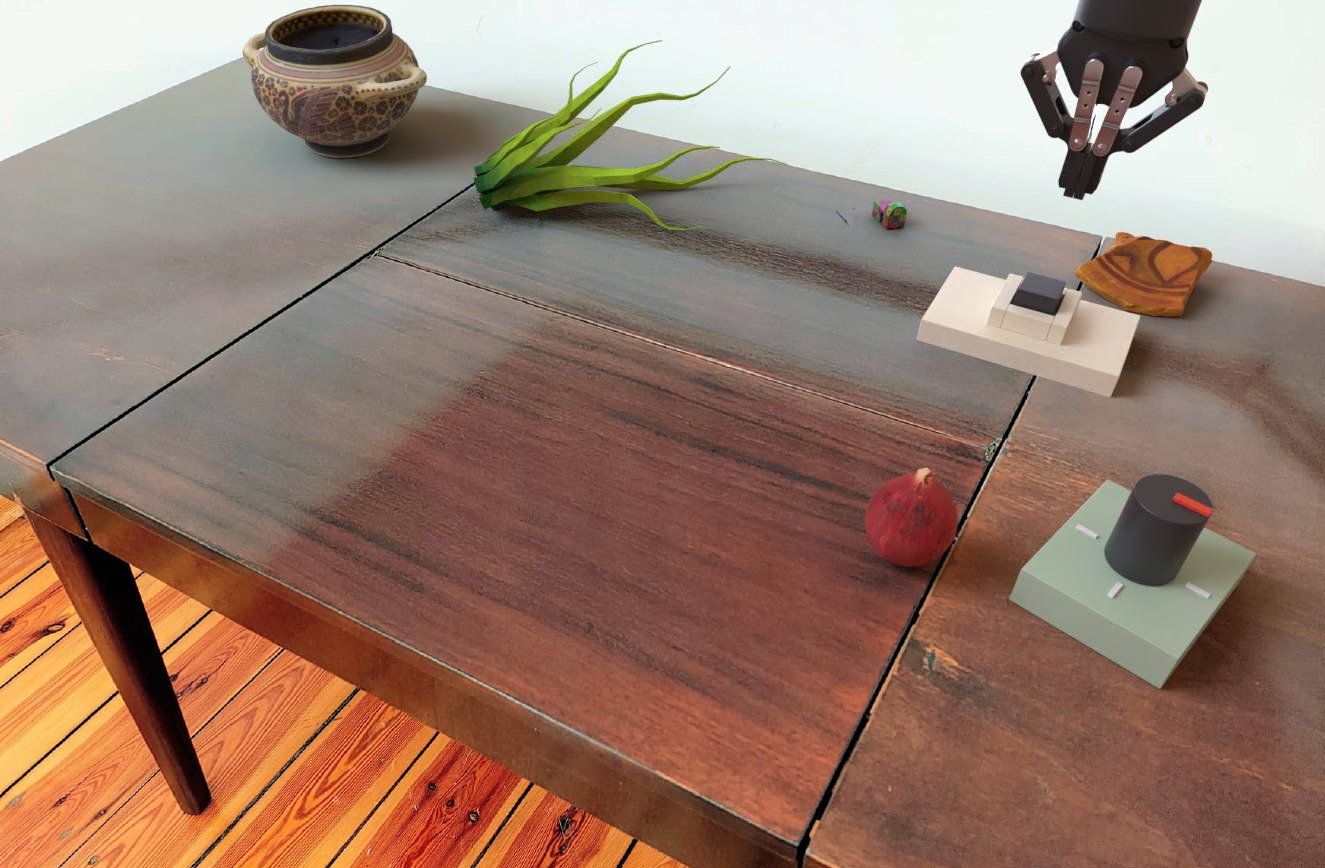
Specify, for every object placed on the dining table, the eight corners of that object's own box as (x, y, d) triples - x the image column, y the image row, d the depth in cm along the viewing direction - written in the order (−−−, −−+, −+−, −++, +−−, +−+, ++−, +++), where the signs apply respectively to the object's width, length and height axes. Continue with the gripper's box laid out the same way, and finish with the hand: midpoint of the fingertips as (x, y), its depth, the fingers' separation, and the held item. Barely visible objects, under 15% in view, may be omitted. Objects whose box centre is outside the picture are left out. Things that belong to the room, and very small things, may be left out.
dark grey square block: (1021, 289, 88) (1027, 271, 87) (1060, 299, 87) (1066, 281, 86) (1012, 306, 86) (1018, 288, 85) (1051, 317, 85) (1058, 299, 84)
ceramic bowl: (238, 155, 122) (178, 38, 109) (341, 72, 129) (295, -46, 116) (385, 217, 111) (335, 95, 99) (488, 123, 118) (454, -2, 106)
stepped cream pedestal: (949, 286, 95) (959, 248, 92) (1132, 336, 89) (1148, 297, 86) (915, 340, 89) (926, 300, 86) (1110, 398, 83) (1127, 357, 80)
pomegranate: (937, 601, 67) (967, 514, 62) (849, 578, 69) (871, 491, 63) (947, 541, 71) (976, 454, 66) (864, 520, 73) (885, 434, 67)
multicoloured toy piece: (912, 225, 103) (917, 204, 102) (886, 229, 103) (890, 207, 101) (893, 206, 106) (897, 185, 105) (867, 209, 106) (871, 188, 104)
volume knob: (1092, 561, 66) (1123, 495, 62) (1121, 525, 68) (1153, 459, 64) (1161, 597, 63) (1198, 531, 59) (1188, 559, 66) (1226, 493, 62)
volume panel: (1093, 509, 73) (1108, 477, 71) (1237, 584, 68) (1258, 551, 66) (1008, 599, 67) (1022, 566, 65) (1159, 689, 62) (1180, 657, 60)
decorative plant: (756, 265, 98) (774, 115, 88) (466, 220, 104) (452, 75, 94) (785, 181, 111) (805, 41, 101) (525, 145, 117) (519, 10, 107)
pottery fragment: (1218, 247, 94) (1202, 278, 87) (1198, 294, 97) (1181, 328, 90) (1104, 219, 99) (1080, 247, 92) (1088, 265, 101) (1063, 295, 94)
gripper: (1271, -49, 68) (1173, 194, 80) (1064, -76, 73) (1000, 157, 85) (1260, -18, 63) (1158, 236, 75) (1039, -49, 68) (975, 194, 80)
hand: (1074, 193), depth 80 cm, fingers closed
